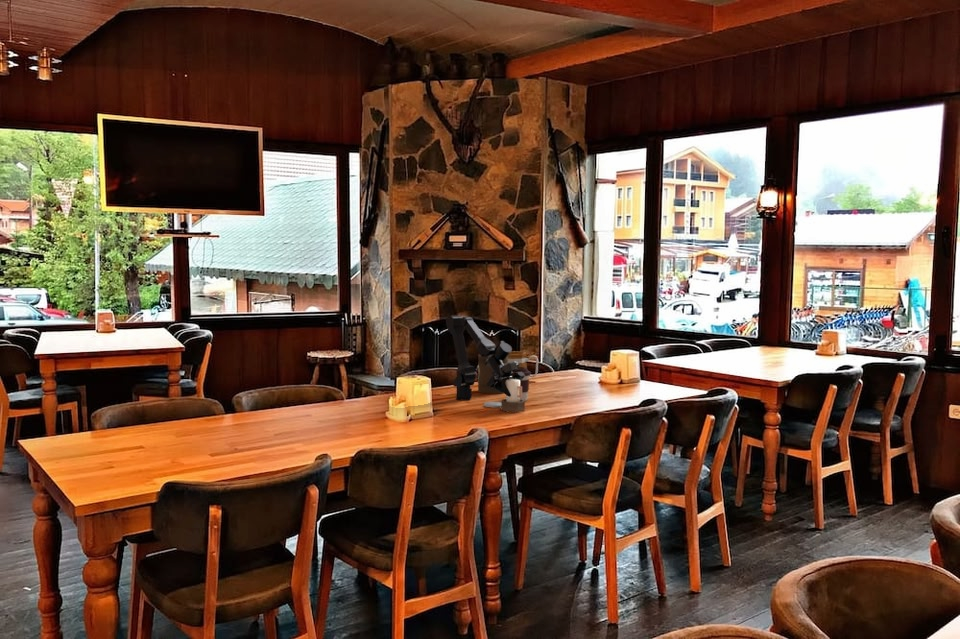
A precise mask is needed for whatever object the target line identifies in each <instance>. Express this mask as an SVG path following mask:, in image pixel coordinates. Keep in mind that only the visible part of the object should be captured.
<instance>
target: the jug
mask: <svg viewBox="0 0 960 639" xmlns="http://www.w3.org/2000/svg"><path fill="white" fill-rule="evenodd" d="M506 386H507V388H508V390H509V392H510V394H511V396H510V397H509V396H507V395H506V396H505V399H506V402H515V403H517V402H520V398H522V386H520V380H519V379H507V380H506Z"/></svg>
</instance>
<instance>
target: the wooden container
mask: <svg viewBox="0 0 960 639" xmlns="http://www.w3.org/2000/svg"><path fill="white" fill-rule="evenodd" d="M477 356H478V363H477V364H478V366H477V370H478V373H477V375H478V376H477V386H478V387H477V390H478V392H479V393H481V392H482V393H481V394H486V393H491V394H490V395H498V394H499V393H501V394H503V393H502V392H500V391H499V390H497V389H494V387H495V384H494V387H493V388H488V386H487V381H488V380H489V379H490V378H491V376H495V375H493V374H492V373H493V370H492V369H491V367H490V365H485V361H486V359H488V358H489V357H490V356H488V357H482V356H480V354H479V353H478V355H477ZM502 362H503V364H508V356H507V358H506V359H505V360H502ZM505 385H506V382H505ZM499 395H500V394H499Z"/></svg>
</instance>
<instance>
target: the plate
mask: <svg viewBox="0 0 960 639" xmlns="http://www.w3.org/2000/svg"><path fill="white" fill-rule="evenodd" d="M484 406H486V407H485V408H487V407H493V408H492V409H500V408H499V407H501V401H485V402H484V403H483V407H484Z"/></svg>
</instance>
